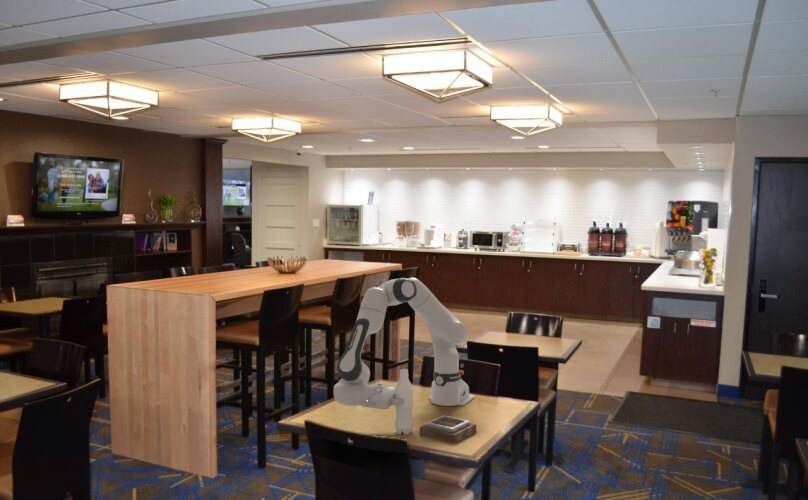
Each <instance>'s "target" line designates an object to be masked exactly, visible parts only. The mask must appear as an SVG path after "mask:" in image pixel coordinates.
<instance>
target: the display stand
mask: <svg viewBox="0 0 808 500" xmlns="http://www.w3.org/2000/svg"><path fill="white" fill-rule="evenodd" d="M475 433H477V423H473V422H471V420H468V419H465V418H464V419H463V418H458V417H453V416H449V415H445V414H444V415H441V416H438V417H437V418H434V419H432V420H429V421H428V422H425V424H423V425H421V426H419V435H420V436H423V435H424V437H427V436H428V437H427V438H431V439H436V440H441V441H444V440H445V442H448V441H450V442H449V443H452V442H453V443H452V444H456V443H457V441H458V442H459V440H460V441H462V440H463V439H465V438H467V437H469V436H471V435H473V434H475ZM461 439H462V440H461ZM455 442H456V443H455Z"/></svg>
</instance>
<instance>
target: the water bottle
mask: <svg viewBox="0 0 808 500" xmlns="http://www.w3.org/2000/svg"><path fill="white" fill-rule="evenodd" d="M395 399H403V400H404V403H403V404H402V405H399V404H398V405H394V407H395V421H394V428H395V430H396V433H397V434H398V435H402V433H403V435H405V436H408V435H410V434H412V432H413V429H414V419H413V408H414V388H413V385H412V383H411V381H410V379H409V369H408V368H401V369H400V370H399V380H398V382H397V384H396V388H395Z"/></svg>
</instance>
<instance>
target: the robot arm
mask: <svg viewBox="0 0 808 500" xmlns="http://www.w3.org/2000/svg"><path fill="white" fill-rule="evenodd" d="M403 303H404V304H405V303H408V305H409V306H410V307H411V309H413V311H414V313H416V314H417V316H418V317H420V319H421V320H422V321H423V322H425V323H426V324H427V326H426V328H427V331H428V334H429V336H430V339H431V343H432V348H433V356H434V364H433V365H434V369H433V375H432V376H433V381H432V382H431V387H430V389H431V390H430V395H429V396H428V399H429V401H430V403H431V404H433V405H436V406H442V407H444V406H445V407H453V406H455V407H456V406H465V405H467V404H468V403H469V402H470V401H472V400H473V399H474V398H475V395H474V394H472V393H470V387H469V385H468V384H467V383H466V382H465V381H464V380H463V379H462V376H463V375H464V370H461V369H459V367H460V366H459V363H460V361H459V360H460V355H459V352H458V350H457V347H456V345H457V344H461V343H463V342H464V341H465V339H466V338H467V335H468V329H467V327H466V325H465V324H464V322H462V321H461V320H459V319H458V318H457V317H456V316H455V315H454V313H452V312H451V311H450V310H449V309H448V308H446V306H444V305H443V303H441V302H440V301H439V299H438V298H437V297H436V296H435V295H434V293H433V292H431V290H430V289H429V288H428V287H427V286H426V285H425V284H424V283H423V282H422V281H421V280H419V279H418V278H416V277H408V278H406V277H400V278H395V279H394V278H393V279H390V280H388V281H384V282H381V283H379V284H377V285H376V286H373V287H370V288H368V289H367V290H366V292H365V294H364V296H363V299H362V301H361V303H360V307H359V309H358V310H359V311H358V314H357V316H356V317H357V318H356V320H355V323H354V325H353V327H352V330H351V333H350V335H349V339H348V342H347V344H346V348H345V350H344V352H343V354H342V355H341V356H340V358H339V359H338V361H337V363H336V368H335V369H336V373H337V375H338V376H339V378H340V379H339V380H338V382H336V384H334V386H333V388H332V389H333V390H332V392H333V393H332V394H333V398H334V400H335V402H336V403H338V404H339V405H343V406H351V407H357V406H360V407H363V408H369V409H370V408H372V409H379V410H388V409H389V408H390V407H391V406H395V405H398V404H399V405H402V404H403V403H404V400H403V399H395V388H396V386H397V385H396V386H395V385H384V383H375V384H369V380H370V377H371V371H370V368H369V366H368V365H367V364H366V363H364V362H363V361H362V358H361V357H362V352H363V348H364V346H365V343H366V340H367V338H368V336H369V335H373V334H376V333H378V332H379V331H380V330H381V329H382V326H383V324H384V321H385V318H386V312H387V308H388V307H390V306H391V307H392V306H398V305H400V304H403Z"/></svg>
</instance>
